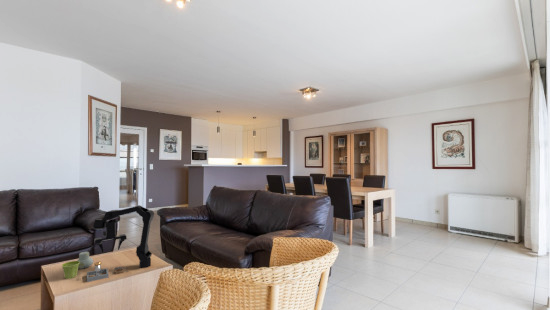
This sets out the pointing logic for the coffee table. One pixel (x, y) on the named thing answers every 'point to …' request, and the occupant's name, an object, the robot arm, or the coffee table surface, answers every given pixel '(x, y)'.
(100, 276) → the tray
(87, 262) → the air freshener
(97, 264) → the lock pin
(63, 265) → the plant pot
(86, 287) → the coffee table surface
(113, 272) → the tensioner block
